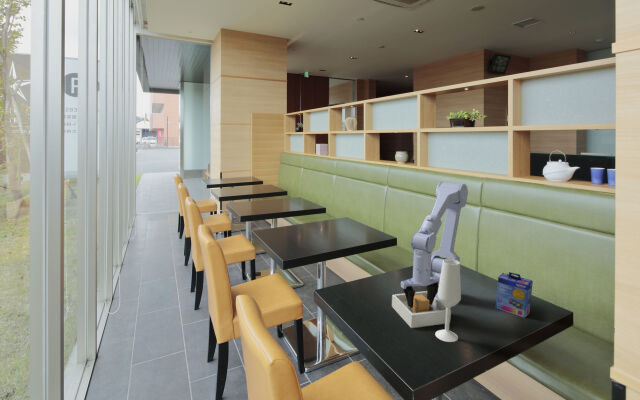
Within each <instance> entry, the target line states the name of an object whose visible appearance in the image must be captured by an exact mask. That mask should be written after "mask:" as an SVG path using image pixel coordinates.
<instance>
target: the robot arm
mask: <svg viewBox="0 0 640 400" xmlns="http://www.w3.org/2000/svg"><path fill="white" fill-rule="evenodd" d="M436 185H437V186H436V189H435V197H436V200H435V202H434V205H433V208H432V211H431V213H430V214H428V215H426V216H425V217H424V220H423V222H422V224H421V225H420V228H419V230H418V231H417V232H415V233H414V234H413V235H412V237H411V241H410V247H411V251H412V252H411V253H412V255H413V259H412V260H413V263H412V264H413V265H412V266H413V267H412V277H411V278H408V279H405V280H401V281H400V287H401V288H402V290H403V292H404V293H405V295H406V298H407V303H408V306H409V307H410V308H413V300H414V295H415V292H416V291H415V290H414V287H426V291H427V299H428V300H429V304H430V305H432V304H433V301H434V298H437V299H438V300H439V298H438V296H437V294H438V288H439V281H440V275H441V269H442V263H443V260H445V259H453V260H457V261H459V262H461V258H460V256H459V255H458V254H457V253H456V252H455V246H456V245H455V244H456V239H457V232H458V227H459V222H460V221H459V220H460V216H461V211H462V208H464V207H466V204H467V201H468V195H469V190H468V185H467V184H465V183H455V182H453V183H452V182H446V181H445V182H443V181H439V183H437V184H436ZM445 212H446V213H445ZM444 214H445V216H444ZM443 216H444V223H443V221H442V220H441V219H442V217H443ZM442 225H443V228H442V229H443V230H442V233H441V239H440V240H441V241H440V244H439V245H440V246H439V248H438V249H436V250H435V248H436V247H435V246H436V244H437V243H436V242H437V238H438V237H437V235H438V233H439V230H440V229H441V227H442ZM434 250H435V251H434ZM431 273H432V274H431ZM431 275H433V276H431ZM460 284H461V285H462V282H461V280H460ZM404 293H403V294H404ZM439 301H440V300H439ZM440 302H441V301H440ZM441 303H442V302H441Z"/></svg>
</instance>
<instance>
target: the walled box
mask: <svg viewBox="0 0 640 400" xmlns="http://www.w3.org/2000/svg"><path fill="white" fill-rule="evenodd" d="M420 294H422V295H423V296H424V297H426V298H427V290H426V291H415V295H420ZM401 301H407V298H406V295H405V293H396V294H392V296H391V307H392V309H394V310H395V312H396V313H397V314H398V315H399V316H400V318H402V320H403V321H404V322H405V323H406V324H407V325H408V326H409V327H410V328H411V329H414V328H422V327H423V328H424V327H430V326H435V325H445V320H446V306H445V305H444V304H443V303H442V302H440V301H439V300H438V299H437V298H434V301H433V305H434V306H435V307H436V308H438V309H439V311H430V312H422V313H414V314H413V313H412V312H411V311H410V310H409V309H408V308H407V307H406V306H405V305H404V304H403V303H402V302H401ZM451 315H452V310H451V309H450V319H452V317H451ZM450 323H451V320H450V321H449V324H450Z"/></svg>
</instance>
